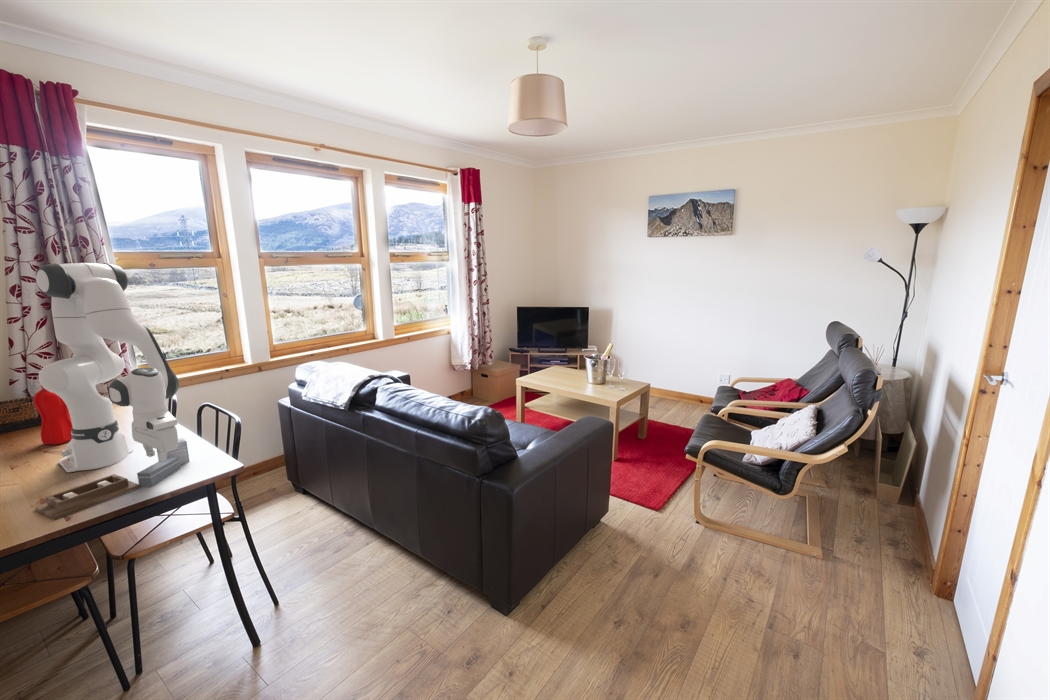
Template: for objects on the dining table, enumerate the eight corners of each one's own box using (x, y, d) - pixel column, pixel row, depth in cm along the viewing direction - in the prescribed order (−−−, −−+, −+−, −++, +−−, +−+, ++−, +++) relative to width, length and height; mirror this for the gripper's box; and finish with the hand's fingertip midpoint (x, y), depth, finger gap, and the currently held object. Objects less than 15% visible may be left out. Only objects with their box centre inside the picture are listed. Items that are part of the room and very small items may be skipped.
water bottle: (87, 435, 187) (76, 377, 183) (58, 446, 177) (45, 384, 172) (68, 435, 188) (56, 376, 184) (37, 445, 178) (24, 383, 173)
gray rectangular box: (139, 488, 143) (136, 473, 142) (168, 470, 155) (166, 457, 154) (152, 487, 143) (149, 473, 142) (180, 470, 155) (178, 457, 154)
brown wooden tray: (35, 510, 130) (33, 498, 129) (120, 480, 148) (118, 470, 147) (55, 519, 125) (52, 508, 124) (140, 487, 143) (138, 477, 142)
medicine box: (186, 460, 163) (183, 437, 161) (190, 463, 160) (186, 440, 159) (159, 467, 157) (155, 444, 155) (162, 471, 154) (158, 447, 153)
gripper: (123, 415, 147) (128, 455, 150) (157, 426, 138) (162, 468, 141) (145, 410, 153) (151, 448, 155) (180, 420, 144) (185, 461, 146)
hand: (156, 458), depth 148 cm, fingers open, 6 cm apart
